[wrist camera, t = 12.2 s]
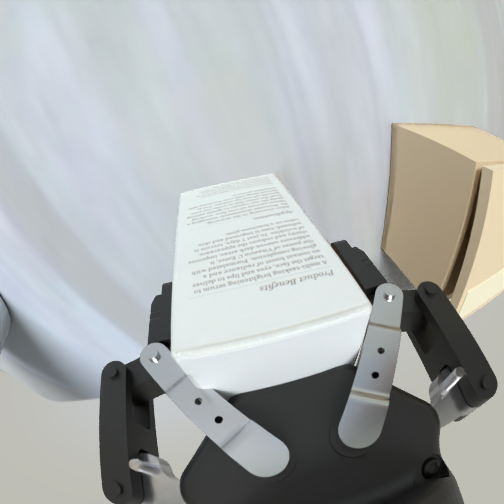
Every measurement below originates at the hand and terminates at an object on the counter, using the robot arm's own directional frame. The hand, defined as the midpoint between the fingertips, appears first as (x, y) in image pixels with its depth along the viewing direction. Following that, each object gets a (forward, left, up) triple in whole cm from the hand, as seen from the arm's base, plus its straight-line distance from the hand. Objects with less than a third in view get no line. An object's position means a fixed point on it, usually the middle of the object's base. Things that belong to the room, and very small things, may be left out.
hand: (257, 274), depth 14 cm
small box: (0, 0, -4) cm, 4 cm away
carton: (+16, +1, -4) cm, 16 cm away
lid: (+16, +1, +4) cm, 16 cm away
